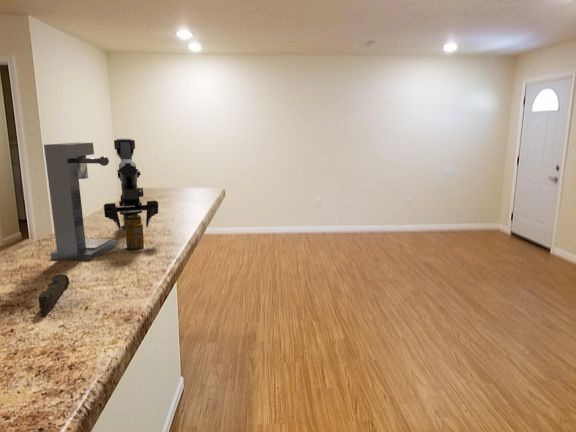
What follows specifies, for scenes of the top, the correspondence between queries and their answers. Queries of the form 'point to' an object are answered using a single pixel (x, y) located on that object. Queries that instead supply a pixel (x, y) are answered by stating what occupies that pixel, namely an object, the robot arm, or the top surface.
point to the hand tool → (52, 293)
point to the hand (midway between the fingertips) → (133, 228)
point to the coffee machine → (71, 200)
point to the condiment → (134, 234)
